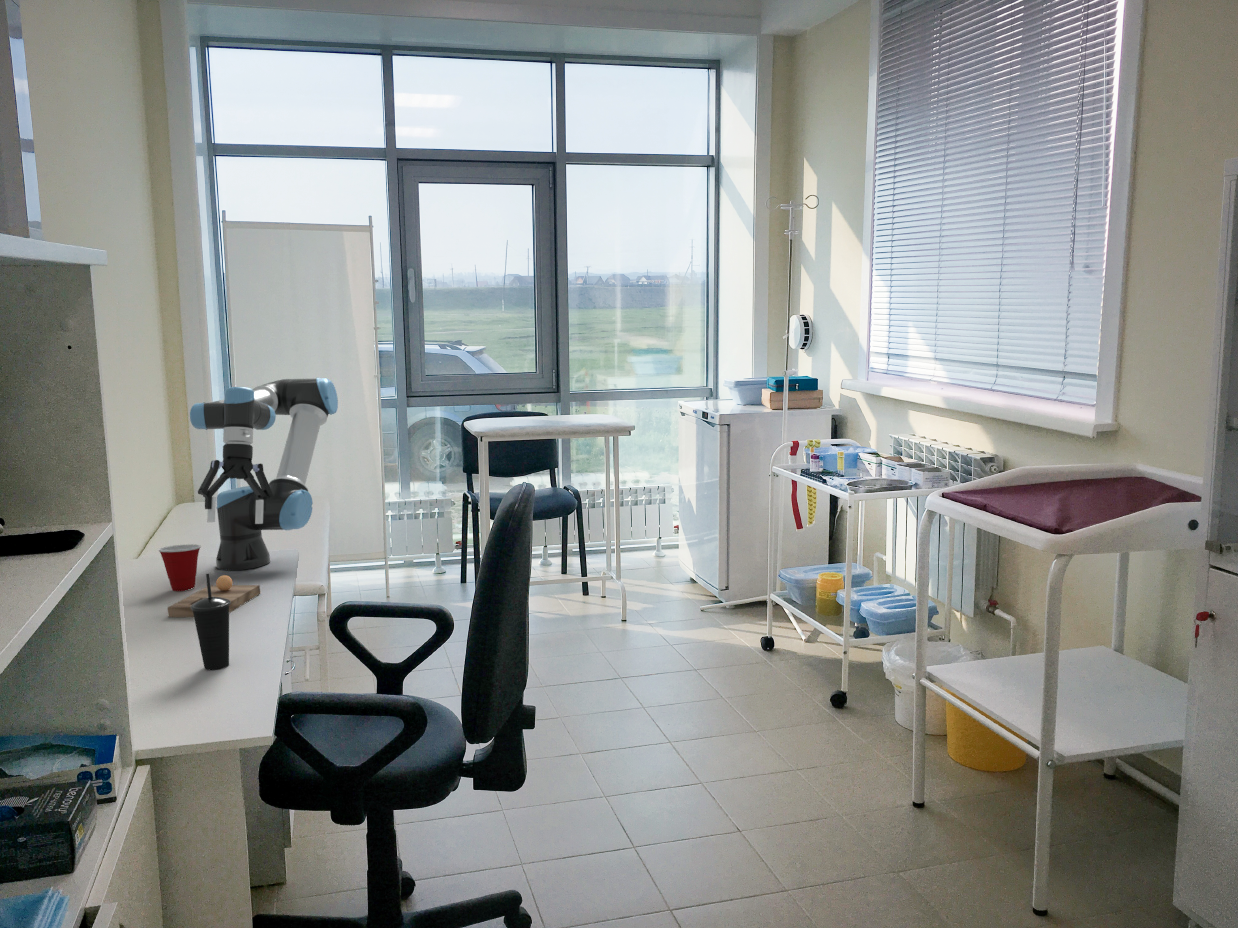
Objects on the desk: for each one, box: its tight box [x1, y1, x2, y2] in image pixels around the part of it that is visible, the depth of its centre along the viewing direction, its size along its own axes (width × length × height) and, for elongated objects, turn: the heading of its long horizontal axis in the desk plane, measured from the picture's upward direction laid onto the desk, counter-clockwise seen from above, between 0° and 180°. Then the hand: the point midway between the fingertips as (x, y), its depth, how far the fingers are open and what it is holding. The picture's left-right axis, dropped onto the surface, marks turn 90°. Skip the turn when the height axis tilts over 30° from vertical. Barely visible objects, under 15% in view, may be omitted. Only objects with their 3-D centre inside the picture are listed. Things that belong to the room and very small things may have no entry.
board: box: [167, 584, 261, 618], centre depth 252 cm, size 20×14×2 cm
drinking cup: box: [191, 573, 230, 671], centre depth 205 cm, size 8×8×20 cm
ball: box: [215, 574, 233, 591], centre depth 257 cm, size 4×4×4 cm
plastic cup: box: [157, 543, 202, 592], centre depth 269 cm, size 11×11×12 cm
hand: (235, 523), depth 264 cm, fingers open, 13 cm apart
